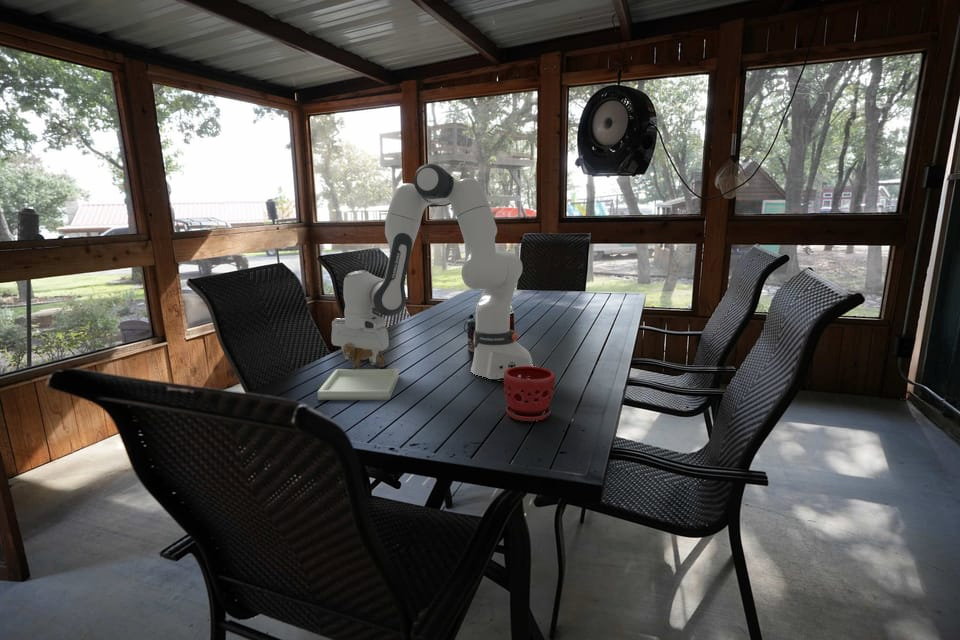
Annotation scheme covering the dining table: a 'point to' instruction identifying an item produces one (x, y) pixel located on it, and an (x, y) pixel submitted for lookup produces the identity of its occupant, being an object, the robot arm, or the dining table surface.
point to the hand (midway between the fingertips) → (360, 360)
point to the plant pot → (528, 392)
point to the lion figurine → (360, 355)
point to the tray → (359, 384)
